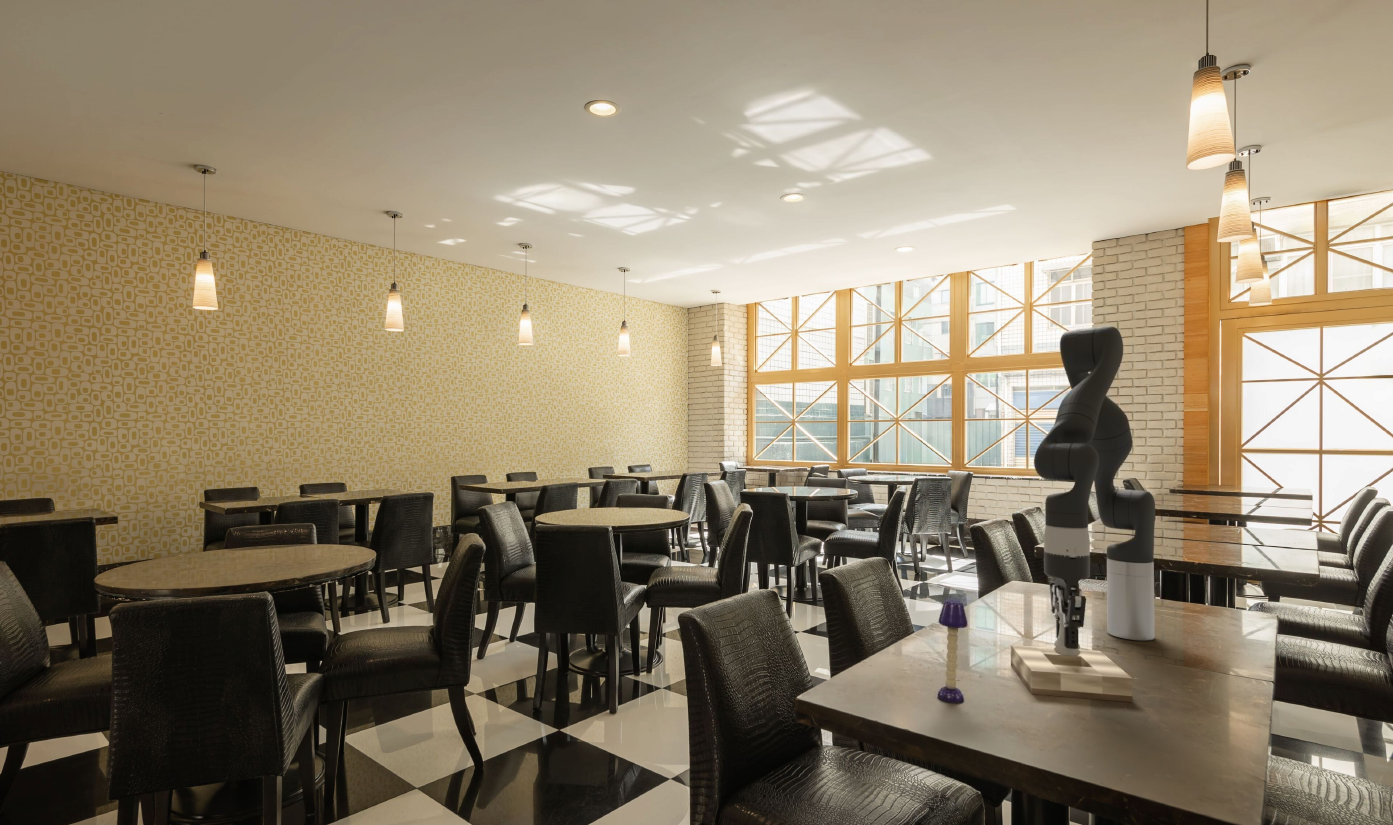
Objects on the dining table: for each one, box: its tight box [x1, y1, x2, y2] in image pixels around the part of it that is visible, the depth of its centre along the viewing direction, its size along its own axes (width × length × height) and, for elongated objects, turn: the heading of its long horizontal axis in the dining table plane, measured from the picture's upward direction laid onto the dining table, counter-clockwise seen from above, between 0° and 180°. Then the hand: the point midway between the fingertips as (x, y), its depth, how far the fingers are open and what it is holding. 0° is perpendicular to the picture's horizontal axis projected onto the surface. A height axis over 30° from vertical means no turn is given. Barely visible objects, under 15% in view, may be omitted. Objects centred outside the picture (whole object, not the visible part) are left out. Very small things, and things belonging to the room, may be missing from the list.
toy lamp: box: [937, 598, 968, 704], centre depth 121 cm, size 5×5×17 cm
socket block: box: [1010, 644, 1134, 703], centre depth 130 cm, size 16×16×4 cm
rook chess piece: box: [1053, 609, 1081, 656], centre depth 131 cm, size 4×4×8 cm
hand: (1067, 643), depth 131 cm, fingers closed on rook chess piece, 4 cm apart
